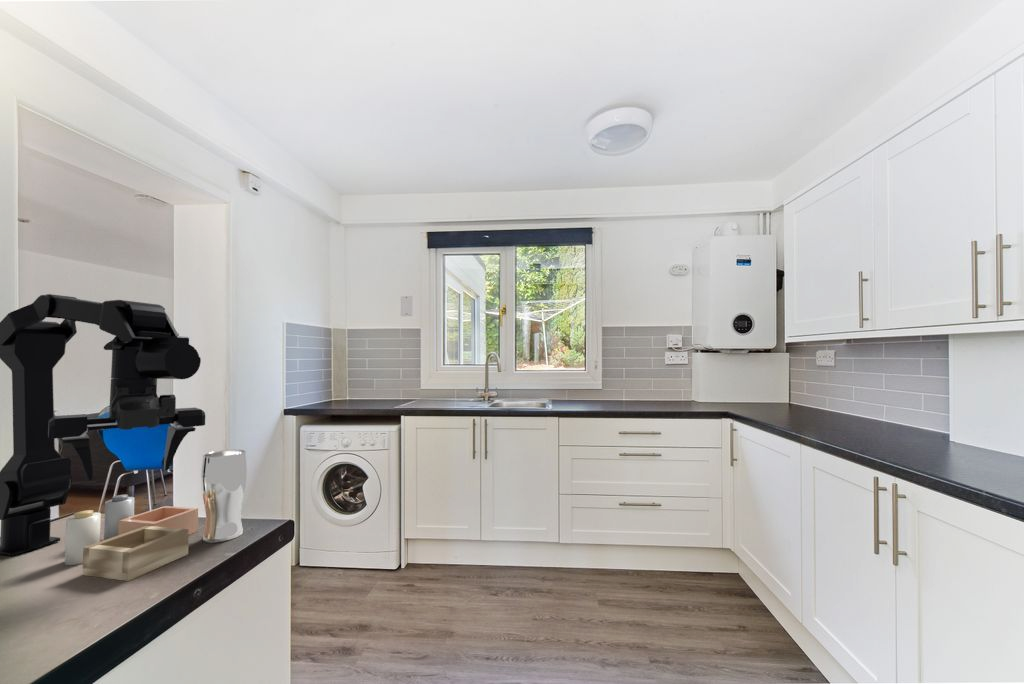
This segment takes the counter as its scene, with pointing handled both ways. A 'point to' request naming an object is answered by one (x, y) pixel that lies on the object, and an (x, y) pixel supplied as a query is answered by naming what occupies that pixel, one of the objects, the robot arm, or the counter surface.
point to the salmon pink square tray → (162, 519)
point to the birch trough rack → (135, 552)
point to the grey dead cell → (117, 513)
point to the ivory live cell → (81, 535)
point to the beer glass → (223, 493)
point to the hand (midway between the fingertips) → (130, 475)
